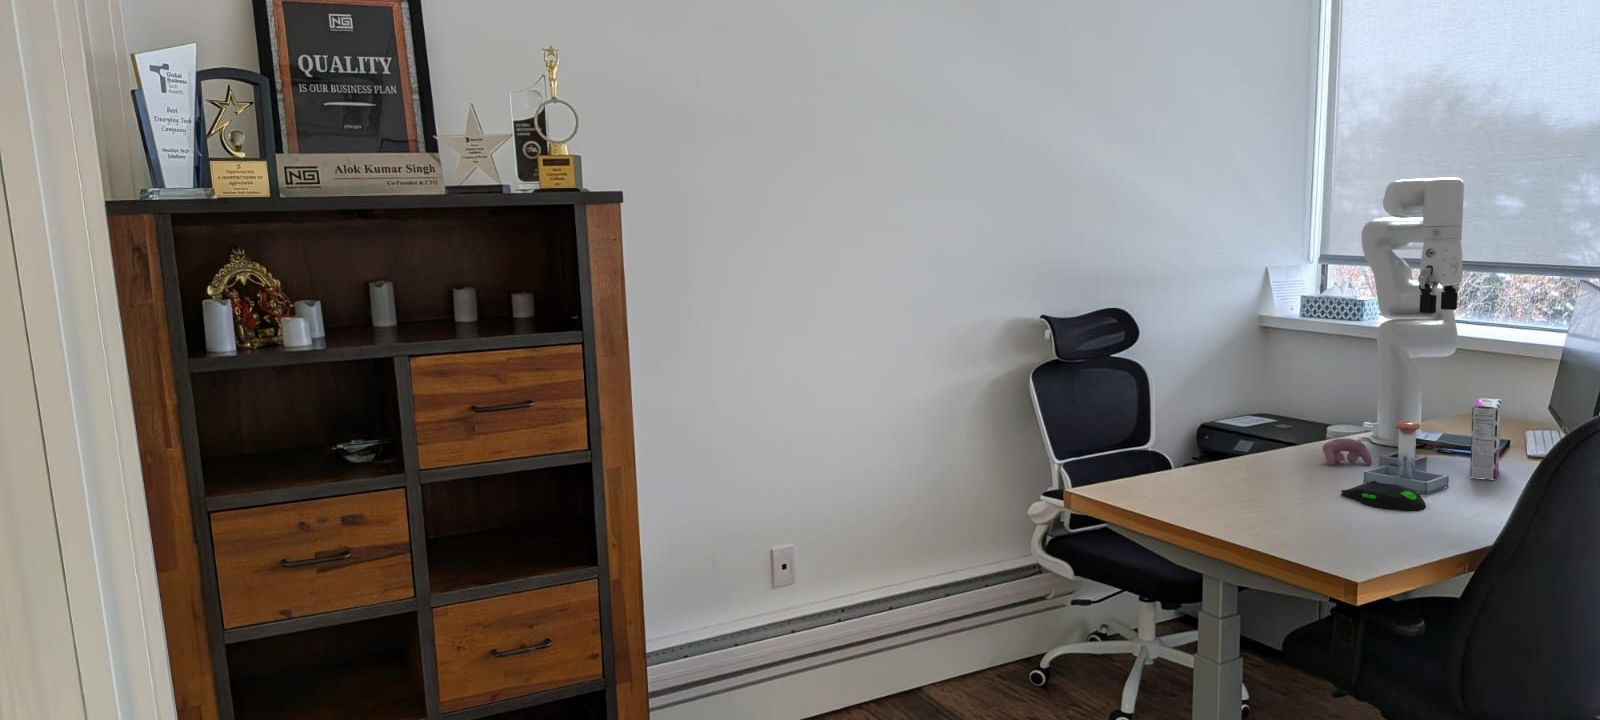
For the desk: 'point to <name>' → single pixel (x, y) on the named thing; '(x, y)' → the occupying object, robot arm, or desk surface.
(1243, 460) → the desk surface
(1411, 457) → the pin
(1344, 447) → the video game controller
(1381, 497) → the computer mouse
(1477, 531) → the desk surface
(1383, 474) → the tray
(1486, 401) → the candy bar box
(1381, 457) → the block
